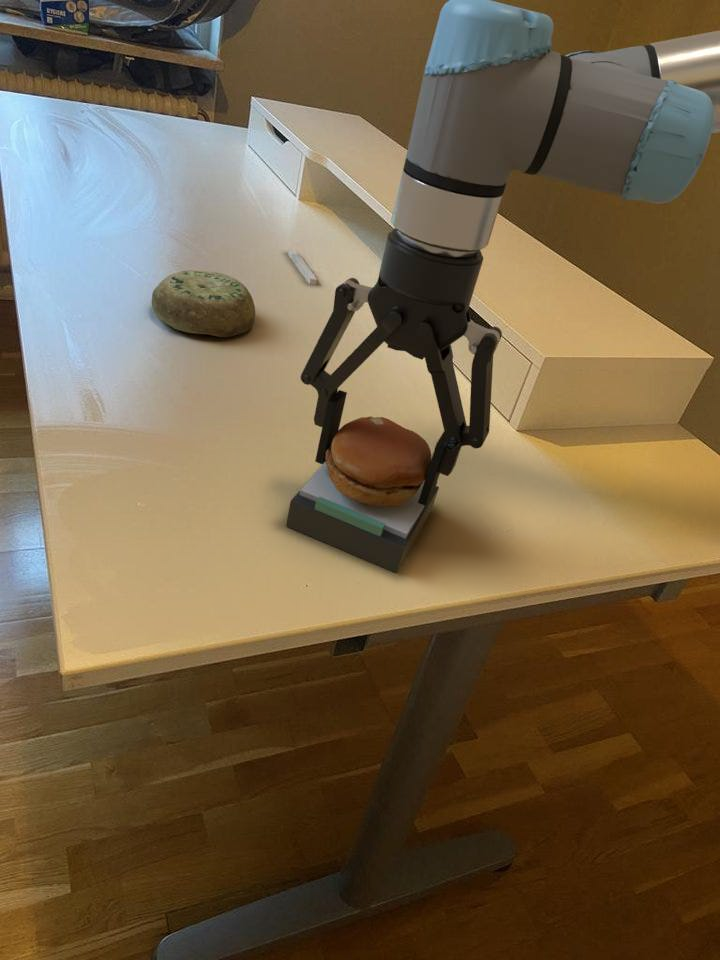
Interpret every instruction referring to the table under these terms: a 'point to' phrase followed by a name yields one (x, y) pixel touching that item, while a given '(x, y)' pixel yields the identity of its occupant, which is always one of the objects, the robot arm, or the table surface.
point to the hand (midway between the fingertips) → (374, 476)
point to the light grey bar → (302, 267)
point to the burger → (377, 461)
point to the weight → (204, 303)
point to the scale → (358, 521)
